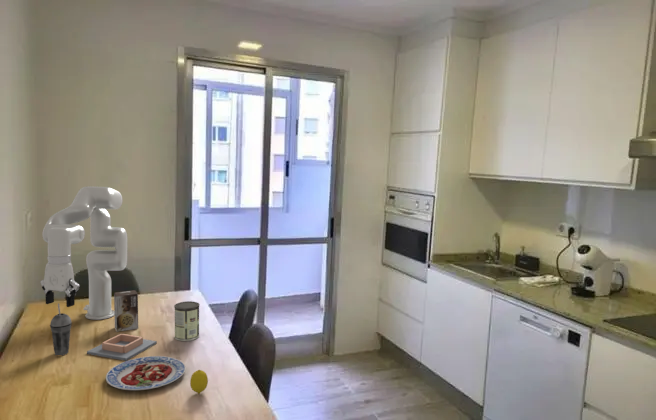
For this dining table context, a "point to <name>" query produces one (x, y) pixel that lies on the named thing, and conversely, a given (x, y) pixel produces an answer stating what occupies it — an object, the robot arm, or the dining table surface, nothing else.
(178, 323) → the coffee can
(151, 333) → the dining table surface
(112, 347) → the collar stand
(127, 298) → the coffee box
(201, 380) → the lemon
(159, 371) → the ceramic plate
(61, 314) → the beverage cup
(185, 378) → the dining table surface
